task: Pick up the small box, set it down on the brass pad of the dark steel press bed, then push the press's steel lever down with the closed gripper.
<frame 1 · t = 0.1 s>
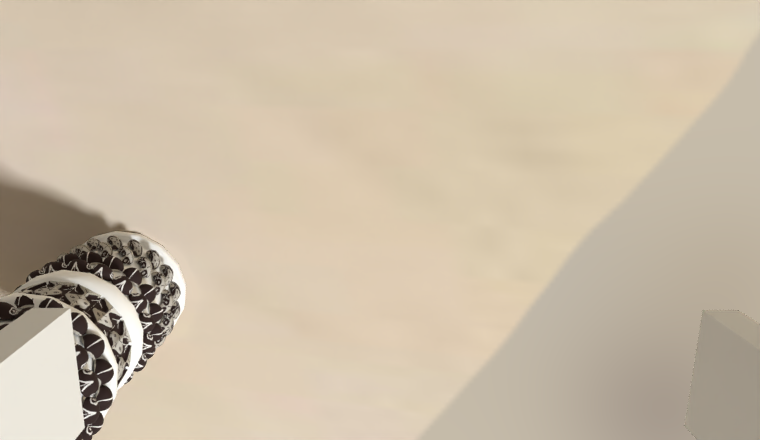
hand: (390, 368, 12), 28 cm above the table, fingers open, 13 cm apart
decorative candle: (126, 287, 41), on the table
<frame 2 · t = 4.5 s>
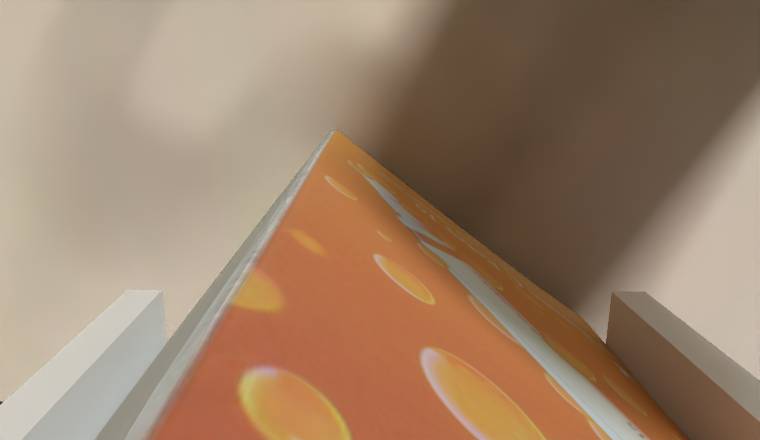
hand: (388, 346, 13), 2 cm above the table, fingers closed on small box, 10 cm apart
small box: (385, 312, 15), on the table, touching gripper
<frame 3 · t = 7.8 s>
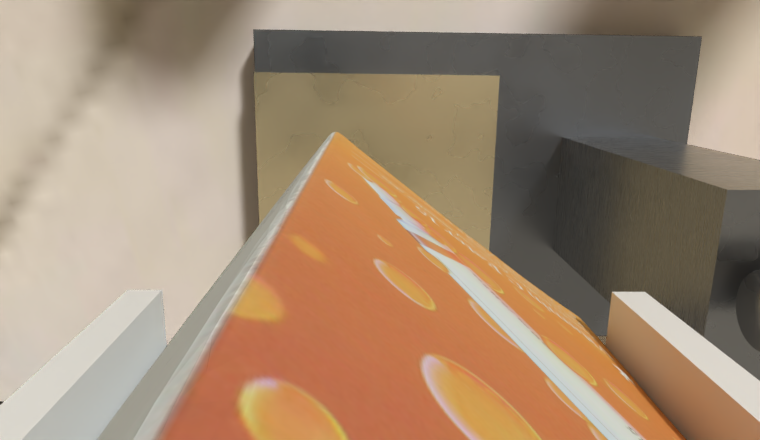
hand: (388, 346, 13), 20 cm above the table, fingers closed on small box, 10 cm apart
small box: (385, 314, 15), point 18 cm above the table, touching gripper
press: (447, 186, 32), on the table
when the fingers open (5 cm above the table, at t = 11.0 s): small box stays where it is, resting on press.
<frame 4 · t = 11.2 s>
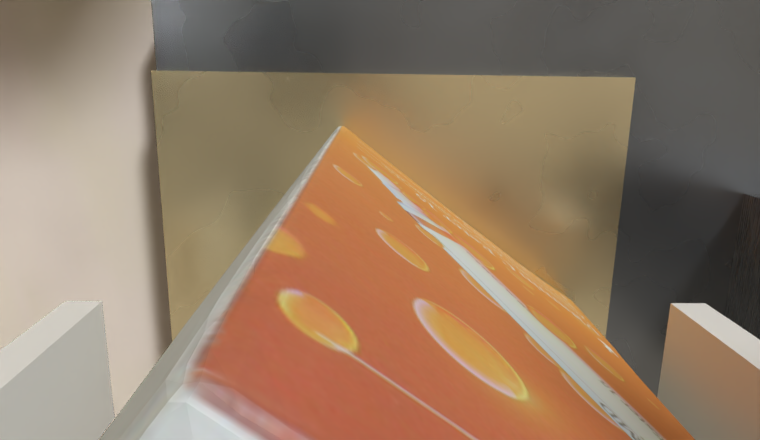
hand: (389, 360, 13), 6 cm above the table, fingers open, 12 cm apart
small box: (388, 297, 16), point 2 cm above the table, touching press
press: (515, 273, 18), on the table
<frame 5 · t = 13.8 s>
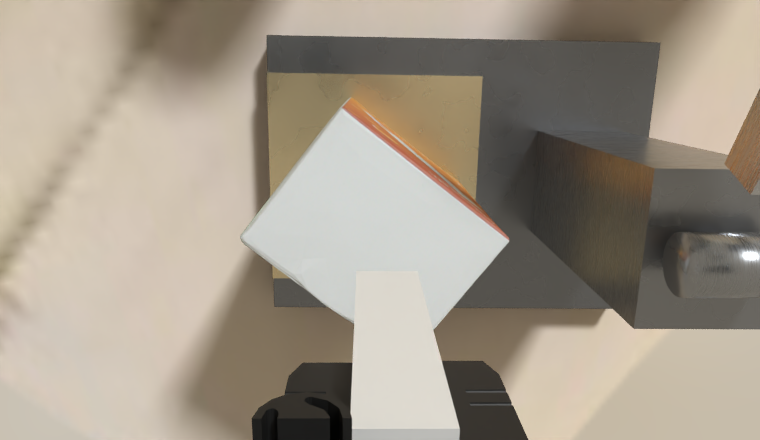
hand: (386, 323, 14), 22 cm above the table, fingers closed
small box: (372, 179, 34), point 2 cm above the table, touching press
press: (437, 175, 36), on the table
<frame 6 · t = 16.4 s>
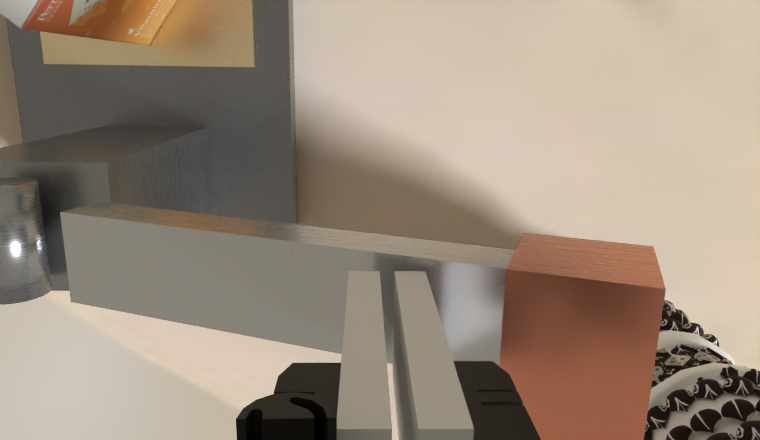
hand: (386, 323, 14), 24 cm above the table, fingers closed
decorative candle: (611, 335, 41), on the table
press: (161, 31, 35), on the table
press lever: (235, 282, 17), point 22 cm above the table, hinge at 21.6°, touching gripper
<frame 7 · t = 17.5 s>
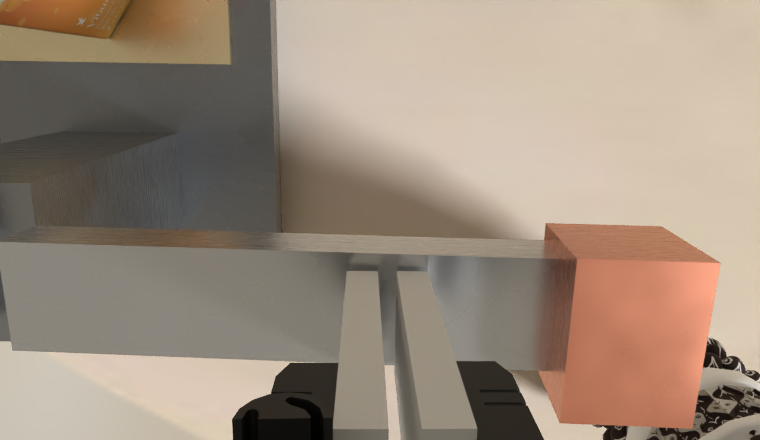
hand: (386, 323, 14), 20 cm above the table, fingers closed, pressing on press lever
decorative candle: (633, 364, 37), on the table
press: (124, 23, 31), on the table
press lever: (243, 302, 15), point 19 cm above the table, hinge at 4.5°, touching gripper
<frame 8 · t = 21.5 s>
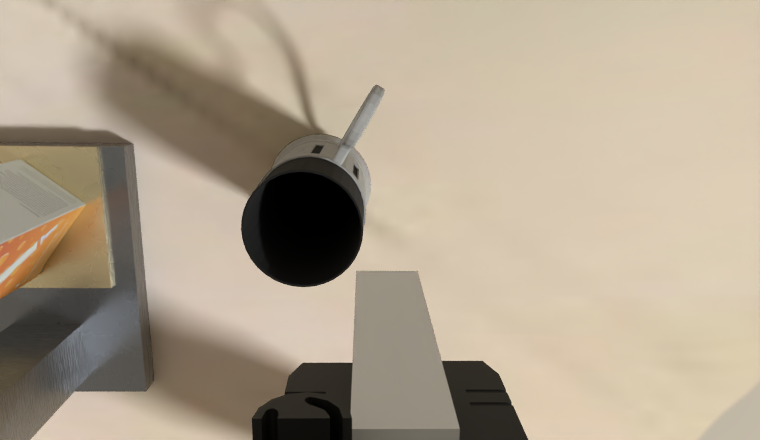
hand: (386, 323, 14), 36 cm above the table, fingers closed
glass holder: (335, 157, 50), on the table
small box: (31, 217, 48), point 2 cm above the table, touching press
press: (51, 256, 51), on the table
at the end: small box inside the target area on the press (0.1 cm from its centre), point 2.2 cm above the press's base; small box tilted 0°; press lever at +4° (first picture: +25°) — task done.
